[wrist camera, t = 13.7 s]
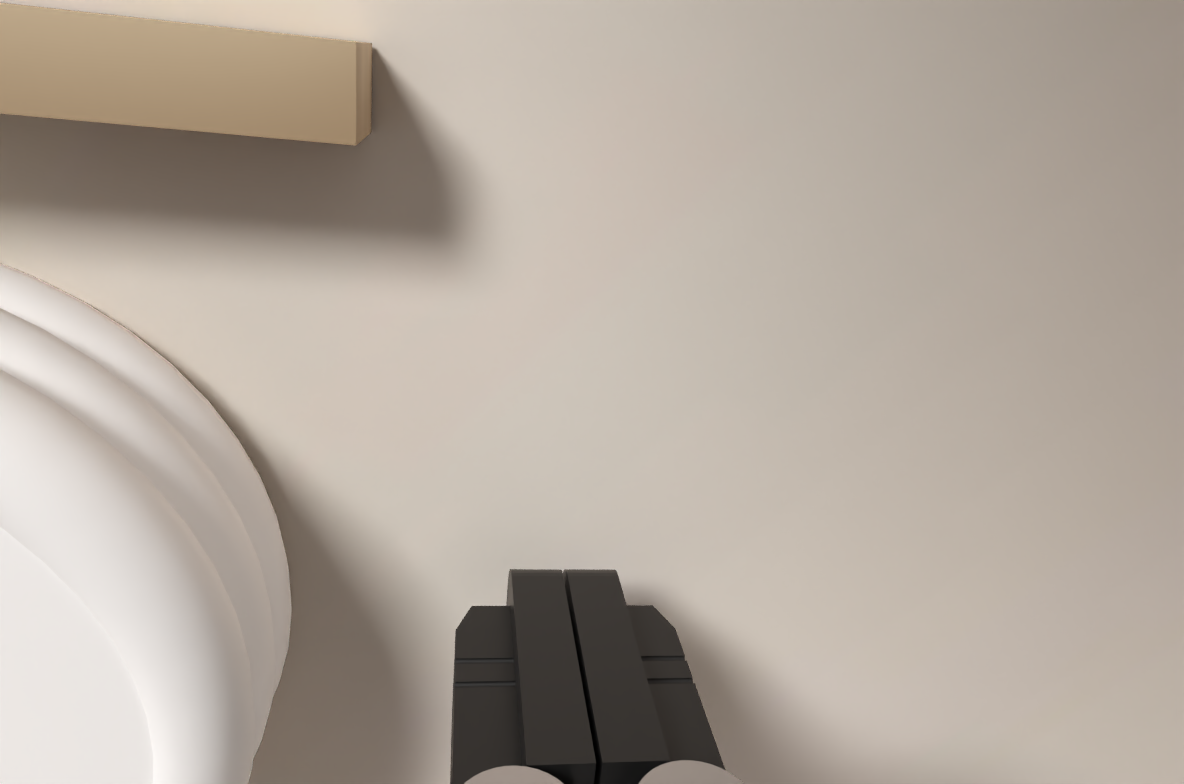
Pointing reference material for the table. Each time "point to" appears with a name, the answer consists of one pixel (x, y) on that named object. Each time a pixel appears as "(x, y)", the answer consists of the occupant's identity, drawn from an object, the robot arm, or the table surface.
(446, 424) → the table surface
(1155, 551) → the table surface
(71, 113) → the rails
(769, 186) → the table surface
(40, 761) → the white plate stack
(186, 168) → the table surface
